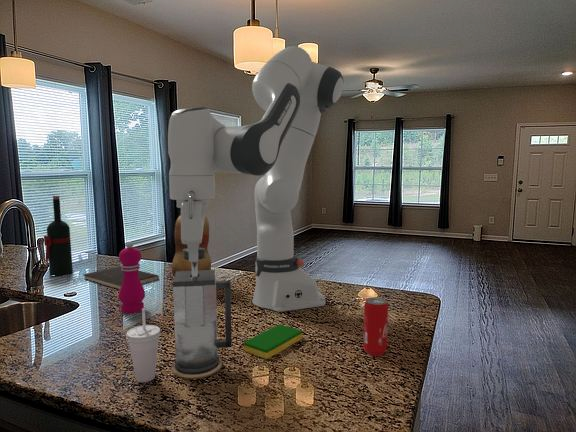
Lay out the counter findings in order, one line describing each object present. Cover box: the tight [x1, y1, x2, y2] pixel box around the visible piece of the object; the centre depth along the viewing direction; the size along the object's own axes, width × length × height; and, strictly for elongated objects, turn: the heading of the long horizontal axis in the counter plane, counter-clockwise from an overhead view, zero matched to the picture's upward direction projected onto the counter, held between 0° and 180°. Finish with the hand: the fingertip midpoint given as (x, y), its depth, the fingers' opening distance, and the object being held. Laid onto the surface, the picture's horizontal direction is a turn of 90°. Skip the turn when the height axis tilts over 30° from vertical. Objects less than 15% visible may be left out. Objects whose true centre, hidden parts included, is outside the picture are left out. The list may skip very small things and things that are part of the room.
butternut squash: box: [171, 214, 212, 277], centre depth 147 cm, size 14×13×25 cm
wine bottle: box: [43, 195, 74, 277], centre depth 158 cm, size 8×10×30 cm
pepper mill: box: [118, 241, 146, 315], centre depth 120 cm, size 7×7×20 cm
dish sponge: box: [243, 324, 303, 360], centre depth 99 cm, size 7×14×2 cm, turn 143°
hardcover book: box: [82, 265, 160, 290], centre depth 153 cm, size 16×23×2 cm
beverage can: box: [363, 296, 389, 357], centre depth 94 cm, size 5×5×12 cm
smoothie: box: [125, 307, 162, 383], centre depth 82 cm, size 6×6×14 cm
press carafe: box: [171, 269, 233, 380], centre depth 87 cm, size 12×10×20 cm
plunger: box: [183, 248, 205, 277], centre depth 85 cm, size 6×6×14 cm
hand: (194, 258), depth 85 cm, fingers closed on plunger, 4 cm apart
